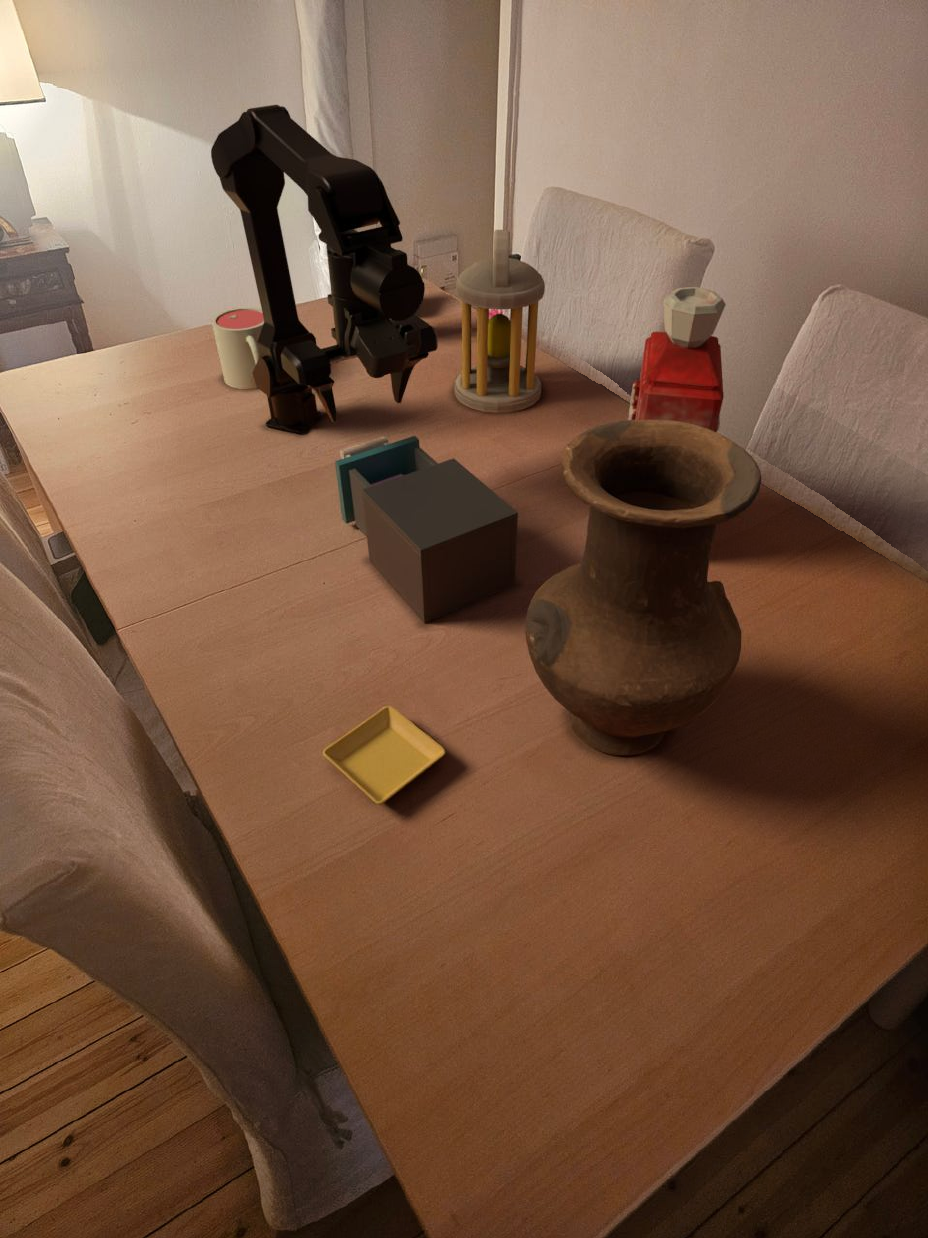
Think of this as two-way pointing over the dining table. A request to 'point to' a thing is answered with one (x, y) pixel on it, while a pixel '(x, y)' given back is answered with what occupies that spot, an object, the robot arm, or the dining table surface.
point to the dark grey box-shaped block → (440, 538)
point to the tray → (374, 471)
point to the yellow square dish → (384, 754)
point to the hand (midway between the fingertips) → (366, 411)
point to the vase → (642, 583)
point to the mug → (238, 344)
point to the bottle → (683, 363)
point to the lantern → (499, 331)
